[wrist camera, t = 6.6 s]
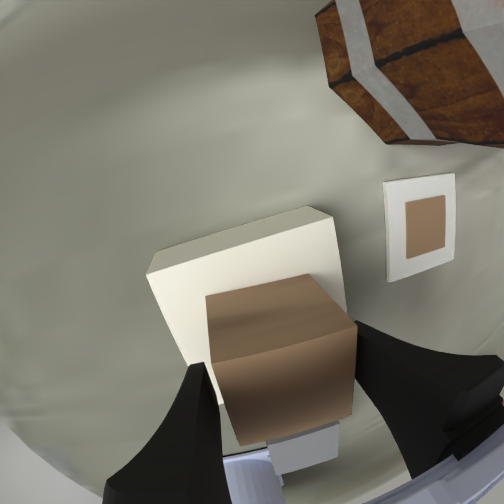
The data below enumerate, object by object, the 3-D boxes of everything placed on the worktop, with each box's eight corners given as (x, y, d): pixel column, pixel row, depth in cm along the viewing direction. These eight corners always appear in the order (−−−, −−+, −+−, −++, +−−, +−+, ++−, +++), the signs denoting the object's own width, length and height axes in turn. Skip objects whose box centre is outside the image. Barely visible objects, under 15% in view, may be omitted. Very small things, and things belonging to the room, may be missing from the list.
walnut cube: (314, 353, 16) (351, 414, 11) (226, 375, 15) (240, 446, 10) (308, 273, 14) (357, 325, 9) (205, 296, 13) (210, 363, 9)
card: (450, 258, 20) (455, 260, 19) (386, 280, 19) (391, 284, 19) (451, 172, 18) (456, 173, 17) (382, 181, 17) (387, 182, 16)
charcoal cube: (317, 415, 23) (337, 456, 18) (263, 431, 22) (276, 475, 17) (315, 378, 21) (339, 423, 16) (253, 396, 20) (266, 445, 16)
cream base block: (327, 327, 20) (351, 359, 16) (206, 366, 19) (210, 406, 16) (304, 204, 17) (332, 216, 13) (157, 249, 16) (145, 274, 13)
